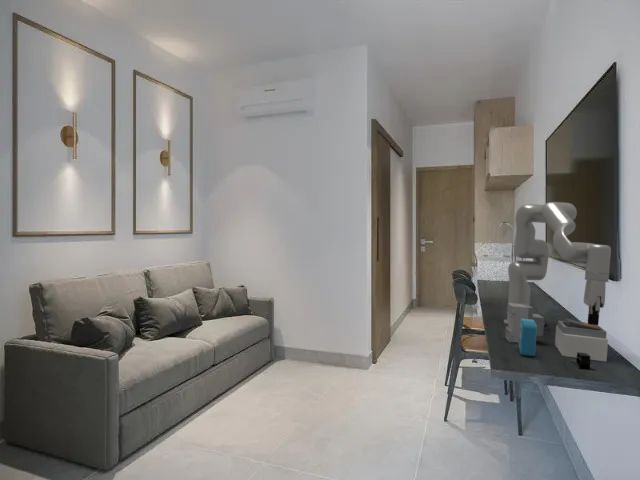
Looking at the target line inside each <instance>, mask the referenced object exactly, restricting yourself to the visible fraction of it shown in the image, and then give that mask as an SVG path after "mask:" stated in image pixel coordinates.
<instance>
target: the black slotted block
mask: <svg viewBox="0 0 640 480" xmlns="http://www.w3.org/2000/svg"><path fill="white" fill-rule="evenodd" d="M575 359H576V360H570V359H569V361H570V362H571V364H573V365H574V366H575V367H576V368H577V369H579V370H585V371H594V372H597V371H598V370H597V369H595V367H593V366H592V365H591V360H590V356H589V355H588V354H587V353H580V352H577V358H575Z"/></svg>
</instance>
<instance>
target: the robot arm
mask: <svg viewBox="0 0 640 480" xmlns="http://www.w3.org/2000/svg"><path fill="white" fill-rule="evenodd" d="M577 213H578V211H577V208H576V207H575V205H574V204H572V203H569V202H561V201H560V202H559V201H551V202H550V201H549V202H545V204H539V203H538V204H537V203H527V204H524V205H520V206H519V208H517V210H516V213H515V226H516V227H515V237H514V238H515V239H514V246H513V253H514V255H515V257H517V258H520V259H532V260H514V261H512V262H510V264H509V265H508V268H507V272H508V273H507V274H508V278H509V279H508V281H509V284H508V285H509V286H508V301H507V302H508V303H514V304H527V305H529V306H531V305H530V303H531V302H530V301H531V287H530V285H529V282H528V281H541V280H544V279H545V278H546V275H547V271H548V264H549V258H550V247H549V244H548V243H547V242H546V241H545V240H543V239H538V238H537V239H535V238H536V228H535V225H534V224H533V223H538V224H539V223H540V224H541V223H543V224H547V225H548V226H549V228H550V229H551V230H552V231H553V232H554V233H553V236H552V244H553V248H554V249H555V251H556V252H557V253H558V255H559V256H560V257H561V258H562V259H563V260H565V261H568V262H585V273H584V281H585V286H584V287H585V288H584V295H583V304H585V305H586V306H588V312H587V313H588V314H587V323H588V324H591V325H598V326H599V321H600V312H601V309H603V308H604V307H605V304H606V303H605V302H606V283H609V279H610V278H609V277H610V269H611V267H610V265H611V255H612V248H611V246H609V245H607V244H596V243H593V242H592V243H590V242H579V241H578V242H576V241H573V242H572V241H571V240H570V239H569V238H568V236H569V235H570V234H572V233H573V232H574V231H575V229H576V223H575V221H574V220H575V219H576V217H577V215H578V214H577ZM508 303H507V304H508ZM508 322H509V316H508V315H507V317H506V318H505V319H503V323H504V324H505V325H508Z"/></svg>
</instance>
